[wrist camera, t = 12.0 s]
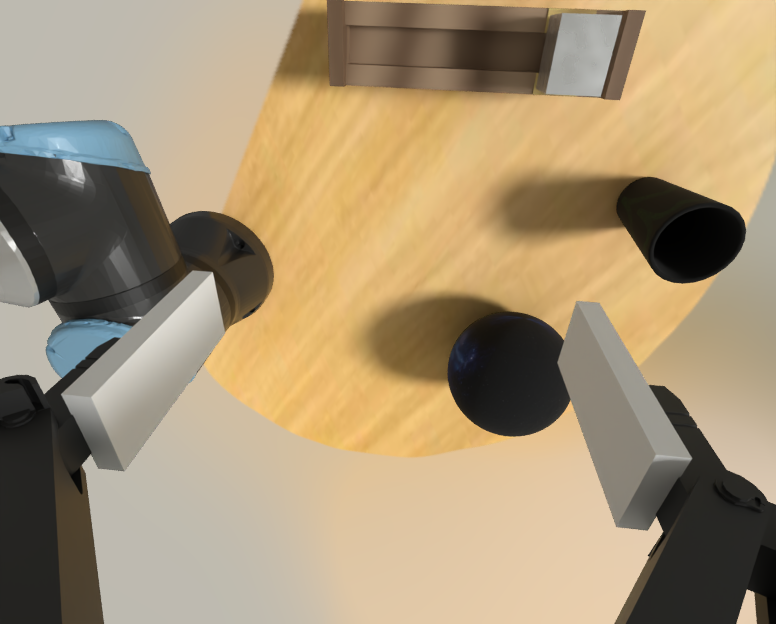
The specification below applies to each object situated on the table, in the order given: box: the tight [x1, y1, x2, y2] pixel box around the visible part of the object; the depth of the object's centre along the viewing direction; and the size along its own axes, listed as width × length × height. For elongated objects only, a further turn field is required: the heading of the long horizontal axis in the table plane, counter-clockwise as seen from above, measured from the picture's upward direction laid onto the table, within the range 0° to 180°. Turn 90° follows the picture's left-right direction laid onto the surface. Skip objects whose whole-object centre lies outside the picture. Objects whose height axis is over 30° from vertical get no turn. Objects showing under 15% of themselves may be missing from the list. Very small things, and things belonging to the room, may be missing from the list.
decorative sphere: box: [448, 312, 571, 437], centre depth 54 cm, size 15×15×15 cm
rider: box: [536, 13, 622, 97], centre depth 34 cm, size 4×5×7 cm
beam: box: [327, 0, 646, 100], centre depth 38 cm, size 24×6×9 cm, turn 88°
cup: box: [616, 177, 746, 284], centre depth 43 cm, size 8×8×12 cm
